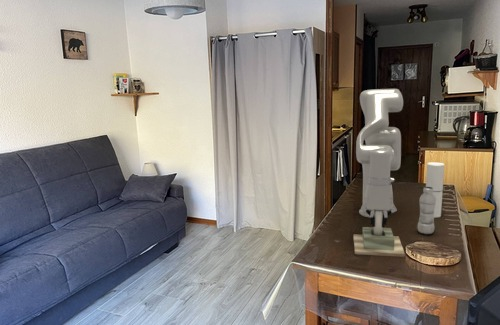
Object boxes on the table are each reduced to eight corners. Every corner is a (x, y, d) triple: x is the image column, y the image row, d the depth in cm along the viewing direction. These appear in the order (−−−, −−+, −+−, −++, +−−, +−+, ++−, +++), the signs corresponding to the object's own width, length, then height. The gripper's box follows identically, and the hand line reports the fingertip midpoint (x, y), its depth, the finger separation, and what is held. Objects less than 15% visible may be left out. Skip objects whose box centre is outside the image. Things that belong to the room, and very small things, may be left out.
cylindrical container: (425, 217, 178) (429, 165, 173) (422, 211, 185) (425, 162, 180) (442, 217, 177) (446, 165, 171) (438, 212, 184) (442, 162, 178)
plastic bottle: (413, 231, 163) (416, 187, 159) (425, 228, 166) (428, 184, 161) (425, 237, 157) (428, 191, 153) (437, 234, 160) (440, 188, 155)
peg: (373, 234, 152) (373, 205, 149) (381, 234, 151) (382, 205, 148) (373, 237, 149) (374, 208, 146) (382, 237, 148) (383, 208, 145)
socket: (353, 236, 161) (353, 224, 160) (398, 239, 157) (399, 226, 155) (354, 254, 146) (355, 240, 144) (404, 256, 142) (405, 242, 140)
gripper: (400, 178, 147) (398, 223, 151) (356, 178, 151) (356, 221, 154) (403, 184, 140) (401, 230, 144) (357, 183, 143) (356, 228, 147)
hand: (378, 225), depth 149 cm, fingers closed on peg, 3 cm apart
